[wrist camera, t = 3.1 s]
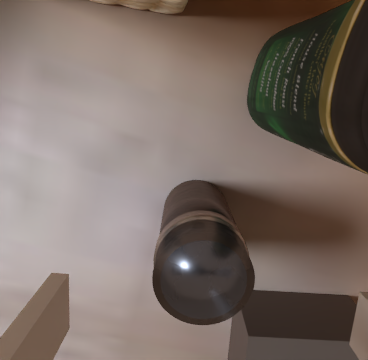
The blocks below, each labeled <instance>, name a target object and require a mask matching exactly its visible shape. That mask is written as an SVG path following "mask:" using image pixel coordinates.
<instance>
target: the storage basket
mask: <svg viewBox="0 0 368 360" xmlns="http://www.w3.org/2000/svg"><path fill="white" fill-rule="evenodd" d="M89 1H93V2H97V3H102V4H121V5H123V6H126V7H129V8H134V9H139V10H145V9H149V10H150V11H153V12H159V13H164V14H176V13H181V12H182V11H184V9H185V5H186V4H187V2H188V0H89Z"/></svg>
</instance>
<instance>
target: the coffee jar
mask: <svg viewBox="0 0 368 360" xmlns="http://www.w3.org/2000/svg"><path fill="white" fill-rule="evenodd" d="M247 105H248V110H249V113H250V115H251V117H252V119H253V120H254V121H255V123H256V124H257V125H258V126H260V127H261V128H262V129H264V130H266V131H268V132H270V133H272V134H274V135H277V136H279V137H281V138H284V139H286V140H289V141H291V142H293V143H296V144H298V145H300V146H303V147H305V148H307V149H309V150H311V151H314V152H316V153H318V154H320V155H323V156H324V157H327V158H329V159H332V160H334V161H337V162H339V163H341V164H344V165H346V166H349V167H351V168H353V169H356V170H358V171H361V172H363V173H366V174H368V0H352V1H349V2H347V3H345V4H343V5H341V6H338V7H336V8H334V9H332V10H330V11H328V12H325V13H323V14H321V15H318V16H316V17H313V18H311V19H308V20H305V21H303V22H300V23H298V24H295V25H293V26H290V27H288V28H286V29H284V30H282V31H280V32H278V33H276V34H275V35H273V36H272V37H271V38H270V39H269V40H268V41H267V42H266V43H265V45H264V46H263V47H262V49H261V51H260V53H259V55H258V57H257V60H256V63H255V66H254V69H253V72H252V75H251V79H250V83H249V88H248V96H247Z"/></svg>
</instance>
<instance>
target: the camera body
mask: <svg viewBox="0 0 368 360" xmlns="http://www.w3.org/2000/svg"><path fill="white" fill-rule="evenodd" d="M356 308H357V305H356V304H355V303H354V301H353V300H352V299H351V298H350V297H349V296H348V295H329V294H311V293H293V292H274V291H256V290H253V291H252V294H251V296H250V298H249V300H248V302H247V303H246V305H245V306H244V307H243V308H242V309H241V310H240V311H239V312H238V313H237V314H236V315H234V316H233V317H232V326H231V335H230V344H229V353H228V360H359V359H358V357H357V356H356V354H355V353H354V351H353V350H352V348H351V347H350V345H349V343H350V338H351V333H352V328H353V323H354V318H355V313H356Z"/></svg>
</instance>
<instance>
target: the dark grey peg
mask: <svg viewBox="0 0 368 360" xmlns="http://www.w3.org/2000/svg"><path fill="white" fill-rule="evenodd" d="M254 281H255V275H254V269H253V265H252V262H251V260H250V258H249V252H248V248H247V246H246V243H245V241H244V239H243V236H242V234H241V232H240V231H239V229H238V228H237V227H236V224H235V222H234V219H233V217H232V215H231V212H230V210H229V208H228V205H227V203H226V200H225V198H224V196H223V194H222V193H221V192H220V190H219V189H218V188H217V187H215V186H214V185H212V184H210V183H208V182H205V181H201V180H191V181H186V182H184V183H181V184H179V185H178V186H176V187H175V188H174V189H173V190H172V191H171V192H170V193H169V195H168V197H167V199H166V201H165V205H164V211H163V217H162V223H161V229H160V235H159V237H158V240H157V243H156V248H155V254H154V270H153V289H154V292H155V295H156V297H157V299H158V301H159V303H160V304H161V306H162V307H163V308H164V309H165V310H166V311H167V312H168V313H169V314H170V315H172V316H173V317H175V318H177V319H179V320H181V321H183V322H186V323H190V324H195V325H210V324H216V323H220V322H222V321H225V320H227V319H229V318H231V317H232V316H234V315H236V314H237V313H238V312H239V311H240V310H241V309H242V308H243V307H244V306H245V305H246V303H247V302H248V300H249V298H250V296H251V294H252V291H253V288H254Z"/></svg>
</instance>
